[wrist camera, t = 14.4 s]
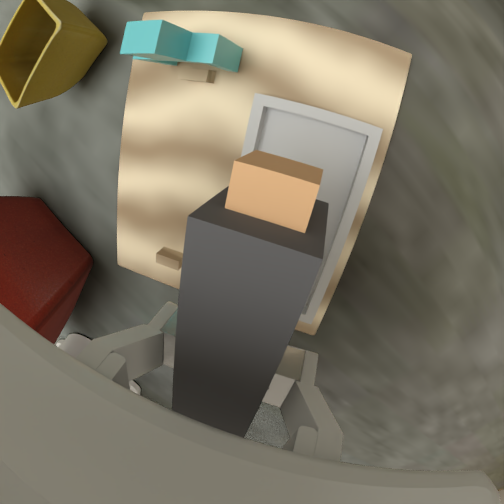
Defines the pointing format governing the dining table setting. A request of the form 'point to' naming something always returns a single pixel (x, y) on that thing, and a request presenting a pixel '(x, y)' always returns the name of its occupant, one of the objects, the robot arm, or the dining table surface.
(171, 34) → the teal stepped block
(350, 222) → the tray
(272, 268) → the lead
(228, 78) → the board
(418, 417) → the dining table surface
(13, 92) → the flower pot
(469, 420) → the dining table surface
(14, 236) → the plant pot
